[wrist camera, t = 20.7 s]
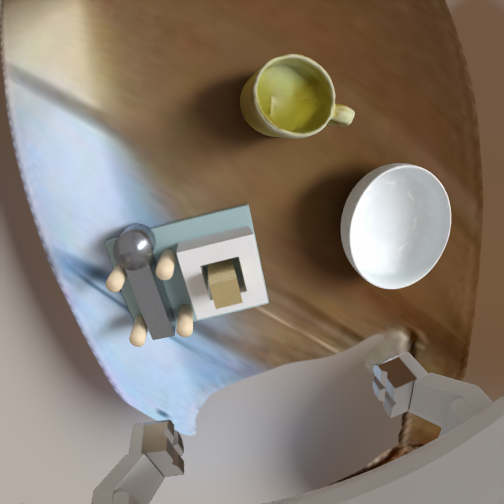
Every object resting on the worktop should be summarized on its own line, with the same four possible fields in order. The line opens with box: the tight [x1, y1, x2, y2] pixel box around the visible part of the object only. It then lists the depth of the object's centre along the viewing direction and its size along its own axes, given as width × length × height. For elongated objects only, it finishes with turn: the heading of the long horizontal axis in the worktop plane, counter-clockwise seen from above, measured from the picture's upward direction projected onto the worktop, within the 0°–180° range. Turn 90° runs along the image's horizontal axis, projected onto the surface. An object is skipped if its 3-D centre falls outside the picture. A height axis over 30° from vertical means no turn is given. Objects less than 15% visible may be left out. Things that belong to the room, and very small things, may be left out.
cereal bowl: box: [340, 163, 451, 289], centre depth 40 cm, size 17×17×7 cm
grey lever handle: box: [113, 224, 176, 340], centre depth 38 cm, size 14×5×4 cm, turn 11°
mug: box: [240, 54, 355, 139], centre depth 33 cm, size 12×10×10 cm
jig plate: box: [104, 204, 269, 347], centre depth 39 cm, size 14×19×6 cm
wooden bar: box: [207, 258, 243, 309], centre depth 37 cm, size 3×3×8 cm
